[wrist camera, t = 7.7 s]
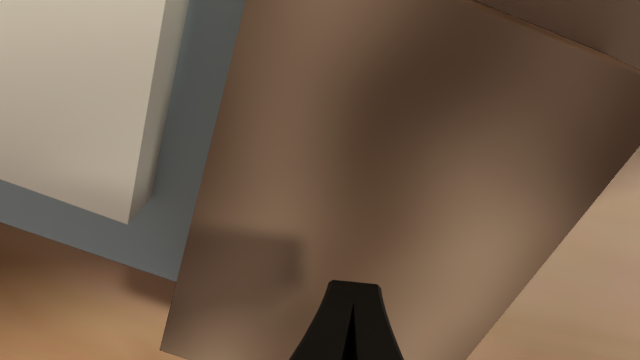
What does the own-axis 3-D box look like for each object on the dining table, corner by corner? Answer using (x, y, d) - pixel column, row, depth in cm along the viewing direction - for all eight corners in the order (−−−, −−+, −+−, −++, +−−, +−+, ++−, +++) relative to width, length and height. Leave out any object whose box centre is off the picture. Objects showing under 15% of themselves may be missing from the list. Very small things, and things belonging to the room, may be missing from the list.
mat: (287, -75, 14) (285, -76, 13) (190, 282, 21) (188, 286, 21) (-169, -261, 13) (-181, -266, 12) (-97, 184, 20) (-103, 187, 20)
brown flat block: (608, 55, 14) (682, 92, 11) (402, 354, 22) (407, 431, 19) (293, -73, 14) (264, -77, 10) (194, 283, 21) (159, 350, 18)
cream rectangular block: (-38, -91, 12) (13, -87, 14) (-25, 170, 17) (13, 148, 18) (166, -9, 13) (192, -15, 14) (127, 224, 17) (150, 198, 19)
